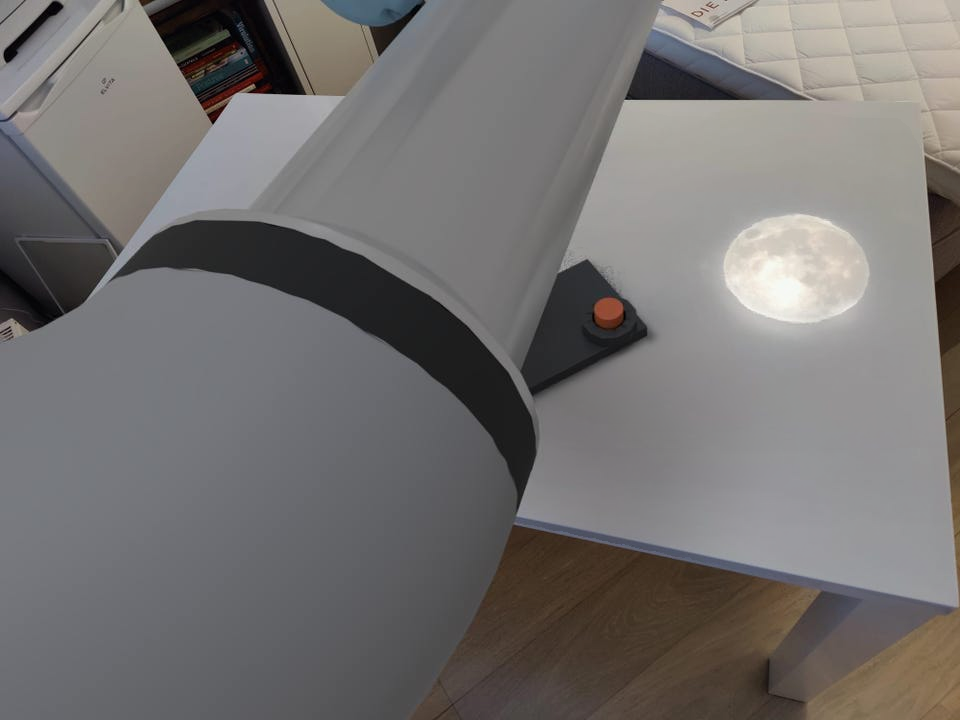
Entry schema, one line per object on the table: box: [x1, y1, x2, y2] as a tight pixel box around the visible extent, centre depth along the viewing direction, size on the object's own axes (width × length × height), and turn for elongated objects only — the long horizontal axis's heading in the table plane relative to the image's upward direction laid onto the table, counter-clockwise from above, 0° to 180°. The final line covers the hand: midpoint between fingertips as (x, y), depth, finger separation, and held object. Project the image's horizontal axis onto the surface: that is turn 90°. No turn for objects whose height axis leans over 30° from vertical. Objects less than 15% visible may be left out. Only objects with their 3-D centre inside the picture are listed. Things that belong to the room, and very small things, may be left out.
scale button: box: [594, 298, 623, 329], centre depth 79 cm, size 3×3×2 cm
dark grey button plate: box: [520, 258, 648, 396], centre depth 83 cm, size 16×14×4 cm
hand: (515, 223), depth 70 cm, fingers closed on beverage can, 7 cm apart
